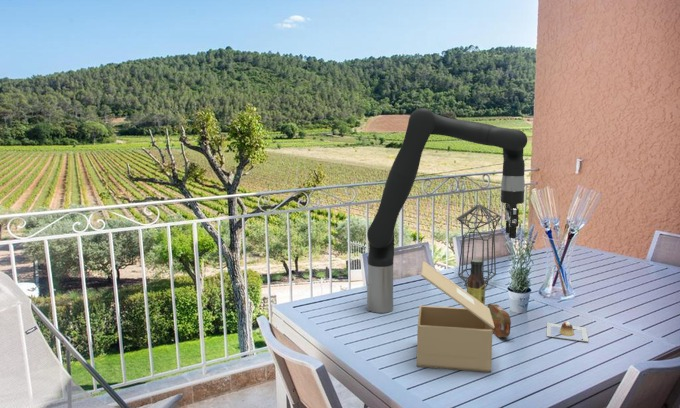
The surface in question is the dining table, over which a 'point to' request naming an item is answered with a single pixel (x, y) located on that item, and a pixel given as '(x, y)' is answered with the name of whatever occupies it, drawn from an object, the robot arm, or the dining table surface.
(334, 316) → the dining table surface
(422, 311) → the carton
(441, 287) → the lid flap
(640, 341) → the dining table surface
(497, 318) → the steak
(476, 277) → the sauce bottle
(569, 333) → the dessert
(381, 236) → the robot arm
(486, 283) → the geometric lantern
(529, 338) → the dining table surface
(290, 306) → the dining table surface
